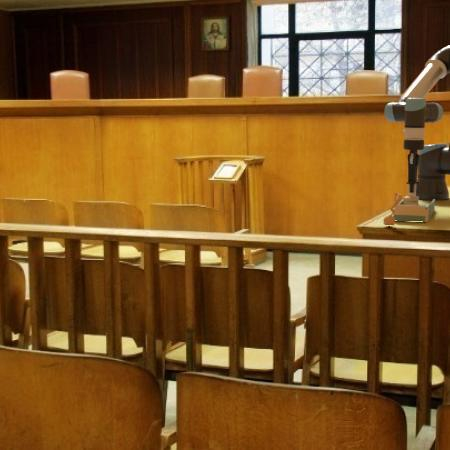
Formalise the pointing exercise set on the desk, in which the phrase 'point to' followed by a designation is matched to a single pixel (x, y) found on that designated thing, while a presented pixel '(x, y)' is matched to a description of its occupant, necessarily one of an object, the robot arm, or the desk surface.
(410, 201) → the birch block
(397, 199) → the figurine
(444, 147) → the robot arm
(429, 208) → the box
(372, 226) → the desk surface
